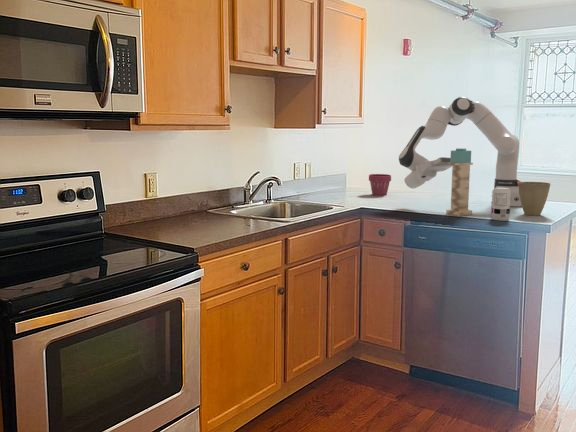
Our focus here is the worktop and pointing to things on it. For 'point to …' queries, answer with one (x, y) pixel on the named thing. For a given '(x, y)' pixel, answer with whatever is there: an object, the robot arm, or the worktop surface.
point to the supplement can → (501, 203)
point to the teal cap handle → (458, 156)
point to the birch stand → (460, 189)
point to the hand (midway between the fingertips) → (446, 158)
